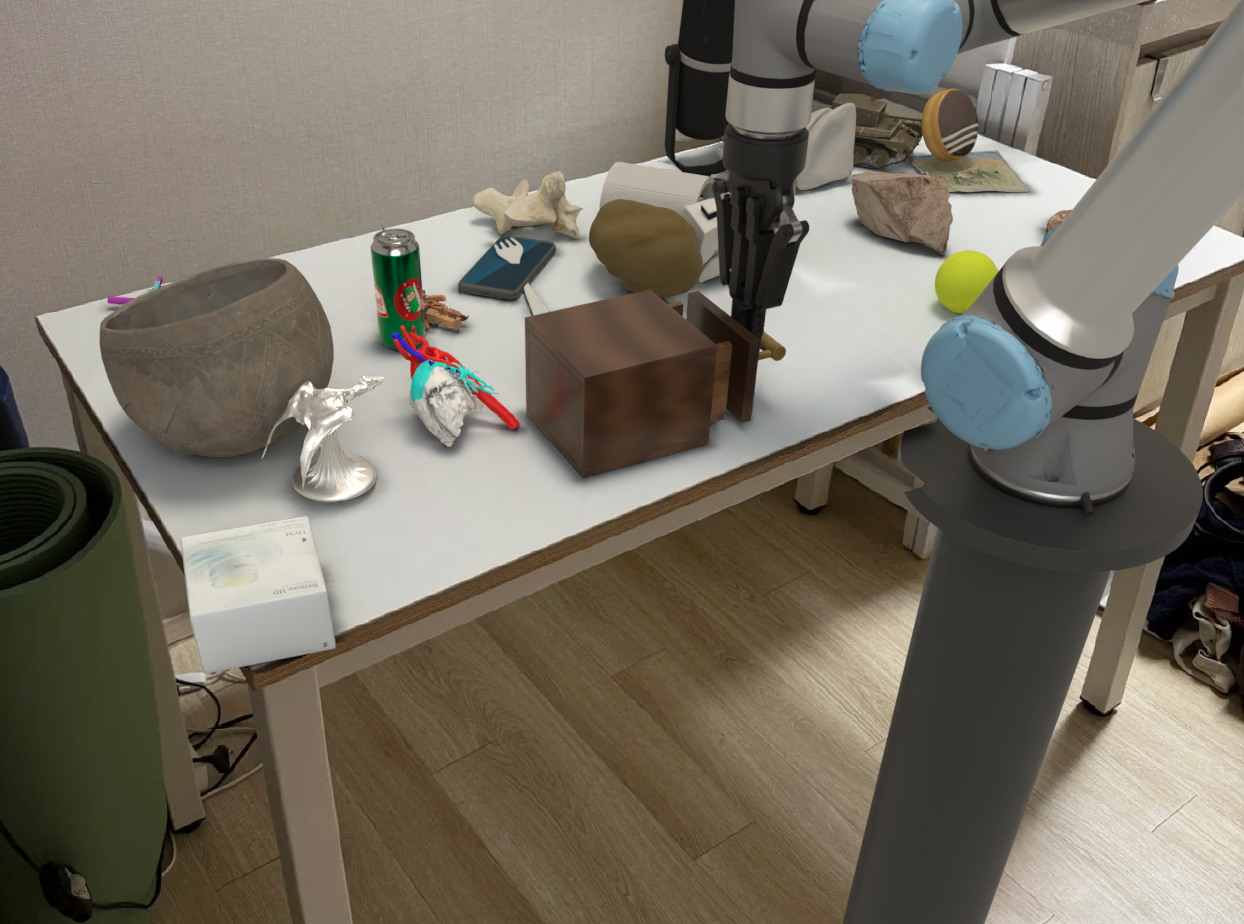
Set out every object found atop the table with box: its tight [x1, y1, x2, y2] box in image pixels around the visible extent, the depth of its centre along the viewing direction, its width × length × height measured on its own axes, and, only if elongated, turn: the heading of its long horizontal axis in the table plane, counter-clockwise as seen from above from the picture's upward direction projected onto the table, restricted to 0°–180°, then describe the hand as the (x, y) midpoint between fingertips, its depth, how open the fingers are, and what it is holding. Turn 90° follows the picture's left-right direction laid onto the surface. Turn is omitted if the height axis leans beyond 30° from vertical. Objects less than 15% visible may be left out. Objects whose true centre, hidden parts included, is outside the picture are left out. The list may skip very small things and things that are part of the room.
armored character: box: [381, 226, 470, 331], centre depth 140 cm, size 12×6×10 cm
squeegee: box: [106, 275, 163, 306], centre depth 144 cm, size 15×1×5 cm
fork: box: [491, 237, 550, 316], centre depth 151 cm, size 3×24×2 cm, turn 15°
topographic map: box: [907, 149, 1031, 193], centre depth 178 cm, size 14×14×2 cm
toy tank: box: [811, 83, 923, 169], centre depth 181 cm, size 10×23×10 cm, turn 65°
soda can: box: [370, 228, 427, 350], centre depth 136 cm, size 5×5×12 cm
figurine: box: [261, 375, 385, 503], centre depth 116 cm, size 8×12×10 cm, turn 134°
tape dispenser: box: [682, 198, 731, 283], centre depth 150 cm, size 6×7×10 cm
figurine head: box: [675, 103, 856, 191], centre depth 175 cm, size 18×14×25 cm
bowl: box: [99, 257, 335, 458], centre depth 120 cm, size 21×21×15 cm
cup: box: [599, 161, 715, 216], centre depth 157 cm, size 9×9×12 cm
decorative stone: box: [588, 199, 703, 299], centre depth 147 cm, size 17×11×10 cm
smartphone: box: [457, 234, 557, 300], centre depth 153 cm, size 8×15×1 cm, turn 161°
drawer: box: [667, 290, 787, 424], centre depth 126 cm, size 18×12×9 cm, turn 116°
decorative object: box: [471, 170, 584, 241], centre depth 160 cm, size 13×13×10 cm
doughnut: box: [921, 88, 979, 165], centre depth 176 cm, size 9×4×10 cm, turn 127°
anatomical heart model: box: [392, 326, 520, 448], centre depth 124 cm, size 13×8×15 cm
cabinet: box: [524, 290, 717, 479], centre depth 123 cm, size 14×13×11 cm
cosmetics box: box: [179, 515, 337, 675], centre depth 102 cm, size 10×6×10 cm
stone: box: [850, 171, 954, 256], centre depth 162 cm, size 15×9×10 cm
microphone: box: [664, 0, 735, 204], centre depth 159 cm, size 16×16×30 cm
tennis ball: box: [934, 249, 999, 315], centre depth 145 cm, size 7×7×7 cm
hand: (743, 361), depth 129 cm, fingers closed
